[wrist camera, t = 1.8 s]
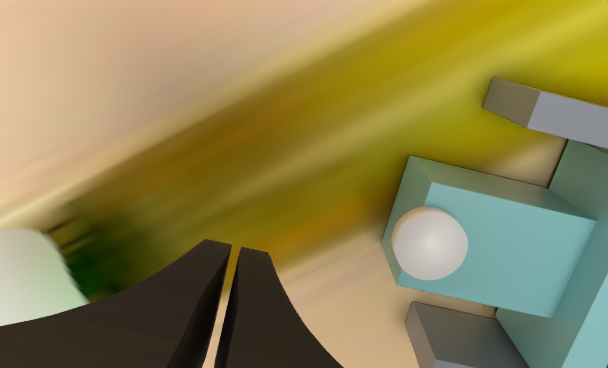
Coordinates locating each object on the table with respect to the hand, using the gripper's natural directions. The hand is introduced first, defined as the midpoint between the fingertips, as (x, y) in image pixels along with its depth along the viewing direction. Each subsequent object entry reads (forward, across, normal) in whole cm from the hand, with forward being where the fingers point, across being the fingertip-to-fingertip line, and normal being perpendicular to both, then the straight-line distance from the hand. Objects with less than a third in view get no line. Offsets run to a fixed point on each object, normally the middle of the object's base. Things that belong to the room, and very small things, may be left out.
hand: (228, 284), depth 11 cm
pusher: (+9, -9, 0) cm, 13 cm away
